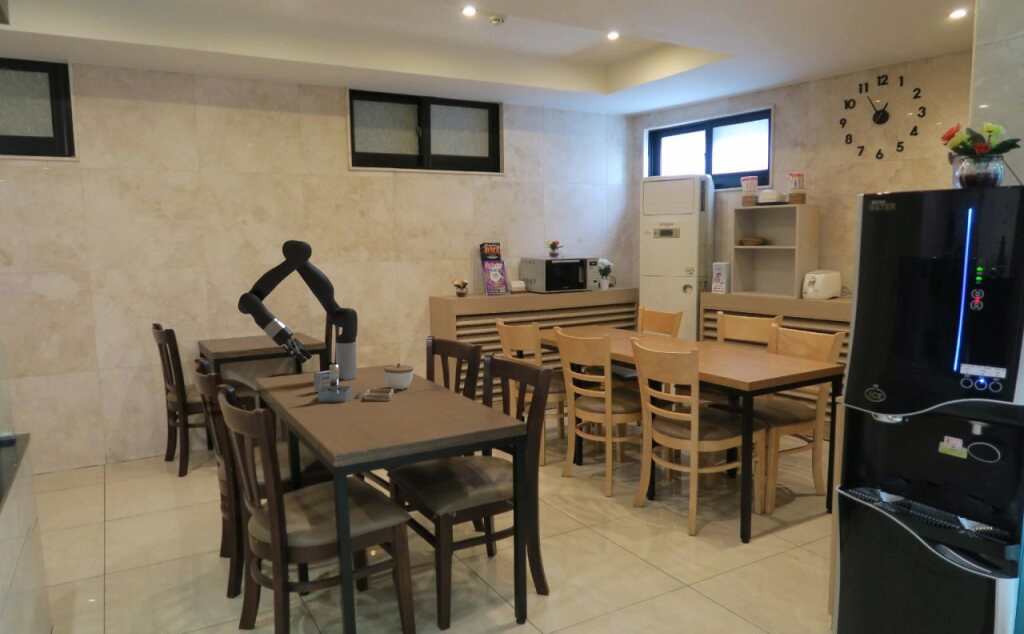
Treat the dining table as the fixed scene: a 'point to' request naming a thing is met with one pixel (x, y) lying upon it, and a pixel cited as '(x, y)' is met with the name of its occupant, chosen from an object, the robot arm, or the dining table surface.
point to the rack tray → (379, 395)
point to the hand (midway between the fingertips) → (307, 360)
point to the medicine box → (321, 380)
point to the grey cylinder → (334, 377)
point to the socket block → (334, 394)
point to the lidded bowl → (398, 376)
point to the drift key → (358, 395)
